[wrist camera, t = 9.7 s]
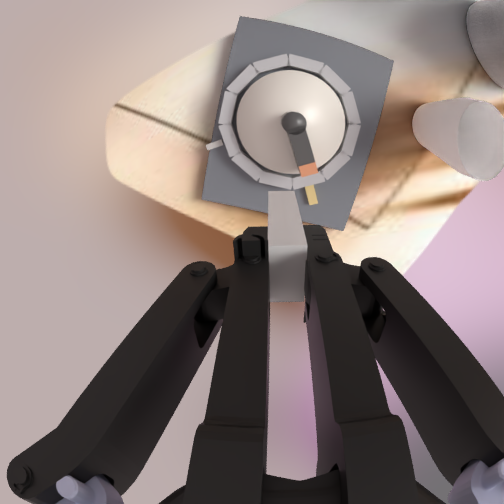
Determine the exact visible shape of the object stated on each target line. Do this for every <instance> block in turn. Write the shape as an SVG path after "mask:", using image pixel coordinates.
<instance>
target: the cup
mask: <svg viewBox="0 0 504 504" xmlns="http://www.w3.org/2000/svg"><path fill="white" fill-rule="evenodd" d="M412 128H413V133H414V135H415V137H416V139H417V141H418V142H419V143H420V144H421V145H422V146H423V147H425V148H426V149H428V150H429V151H430V152H432V153H433V154H435V155H436V156H437V157H439V158H440V159H442V160H443V161H444V162H446V163H447V164H448V165H450V166H451V167H452V168H453V169H455V170H456V171H458V172H459V173H461V174H464V175H467V176H469V177H472V178H474V179H477V180H479V181H488V180H491V179H493V178H495V177H496V176H497V175H498V174H499V173H500V172H501V170H502V169H503V167H504V118H503V117H502V115H501V113H500V112H499V111H498V109H497V108H496V107H495V106H493V105H492V104H490V103H488V102H485V101H480V100H476V99H472V98H468V97H461V98H454V99H448V100H442V101H436V102H431V103H425V104H423V105H421V106H420V107H418V108H417V110H416V111H415V113H414V116H413V120H412Z"/></svg>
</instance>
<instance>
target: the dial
mask: <svg viewBox="0 0 504 504" xmlns="http://www.w3.org/2000/svg"><path fill="white" fill-rule="evenodd" d="M237 131H238V134H239V138H240V140H241V142H242V145H243V146H244V148H245V149H246V151H247V152H248V153H249V155H250V156H251V157H252V158H253V159H254V160H255V161H257V162H258V163H259V164H261V165H262V166H264V167H266V168H268V169H270V170H273V171H276V172H279V173H285V174H300V175H301V177H305V176H309V175H313V174H316V173H318V170H317V168H318V167H320V166H322V165H323V164H325V163H326V162H327V161H328V160H330V159H331V158H332V156H333V155H334V154H335V153H336V151H337V150H338V148H339V146H340V144H341V142H342V139H343V137H344V132H345V115H344V111H343V107H342V105H341V102H340V100H339V98H338V97H337V95H336V94H335V92H334V91H333V90H332V89H331V88H330V87H329V86H328V85H327V84H326V83H325V82H324V81H322V80H321V79H319V78H317V77H315V76H313V75H311V74H308V73H305V72H301V71H296V70H284V71H277V72H273V73H270V74H268V75H266V76H264V77H262V78H260V79H259V80H257V81H256V82H255V83H253V84H252V85H251V86H250V87H249V89H248V90H247V91H246V92H245V94H244V95H243V97H242V99H241V101H240V104H239V107H238V111H237Z"/></svg>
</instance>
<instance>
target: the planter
mask: <svg viewBox="0 0 504 504" xmlns="http://www.w3.org/2000/svg"><path fill="white" fill-rule="evenodd" d="M466 22H467V30H468V35H469V39H470V42H471V45H472V47H473V50H474V52H475V54H476V56H477V58H478V60H479V62H480V64H481V65H482V67H483V68H484V70H485V71H486V73H487V74H488V75H489V77H490V78H491V79H492V80H493V81H494V82H495V83H496V84H497V85H499V86H500V87H502V88H503V89H504V0H479V1H476V2H475V3H473V4H472V5H471V6H470V7H469V9H468V12H467V18H466Z"/></svg>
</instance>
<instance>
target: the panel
mask: <svg viewBox="0 0 504 504" xmlns="http://www.w3.org/2000/svg"><path fill="white" fill-rule="evenodd" d="M393 62H394V61H393V60H390V59H388V58H386V57H384V56H381V55H379V54H377V53H374V52H372V51H370V50H367V49H365V48H362V47H359V46H357V45H354V44H351V43H348V42H346V41H343V40H340V39H337V38H334V37H331V36H327V35H324V34H321V33H317V32H314V31H310V30H307V29H303V28H299V27H295V26H291V25H286V24H282V23H277V22H272V21H267V20H261V19H254V18H249V17H242V16H241V17H240V18H239V22H238V25H237V29H236V33H235V37H234V40H233V44H232V48H231V52H230V57H229V61H228V65H227V69H226V74H225V78H224V82H223V87H222V91H221V96H220V101H219V106H218V110H217V115H216V120H215V125H214V131H213V136H212V141H211V143H209V144H207V145H206V148H207V151H208V150H210V152H209V158H208V163H207V169H206V175H205V181H204V187H203V194H202V200H207V201H212V202H217V203H222V204H226V205H231V206H236V207H241V208H246V209H250V210H255V211H260V212H264V213H268V191H294V192H295V196H296V200H297V204H298V208H299V212H300V216H301V220H302V221H304V222H308V223H312V224H316V225H320V226H324V227H328V228H333V229H337V230H341V231H343V230H344V228H345V225H346V222H347V220H348V217H349V214H350V211H351V208H352V206H353V203H354V200H355V197H356V194H357V191H358V188H359V185H360V182H361V179H362V176H363V173H364V170H365V167H366V163H367V160H368V157H369V154H370V151H371V147H372V144H373V140H374V137H375V134H376V130H377V127H378V123H379V119H380V116H381V112H382V108H383V104H384V100H385V96H386V92H387V88H388V84H389V80H390V76H391V71H392V67H393ZM284 70H296V71H301V72H305V73H308V74H311V75H313V76H315V77H317V78H319V79H321V80H322V81H324V82H325V83H326V84H327V85H328V86H329V87H330V88H331V89H332V90H333V91H334V92H335V94H336V95H337V97H338V98H339V100H340V102H341V105H342V107H343V111H344V115H345V132H344V137H343V139H342V142H341V144H340V146H339V148H338V150H337V151H336V153H335V154H334V155H333V156H332V158H331V159H330V160H328V161H327V162H326V163H325V164H323V165H322V166H320V167H318V168H317V170H318V173H316V174H313V175H309V176H305V177H301V175H300V174H285V173H279V172H276V171H273V170H270V169H268V168H266V167H264V166H262V165H261V164H259V163H258V162H257V161H255V160H254V159H253V158H252V157H251V156H250V155H249V153H248V152H247V151H246V149H245V148H244V146H243V145H242V142H241V140H240V138H239V134H238V131H237V111H238V107H239V104H240V101H241V99H242V97H243V95H244V94H245V92H246V91H247V90H248V89H249V87H250V86H251V85H252V84H253V83H255V82H256V81H257V80H259V79H260V78H262V77H264V76H266V75H268V74H270V73H273V72H277V71H284Z"/></svg>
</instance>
